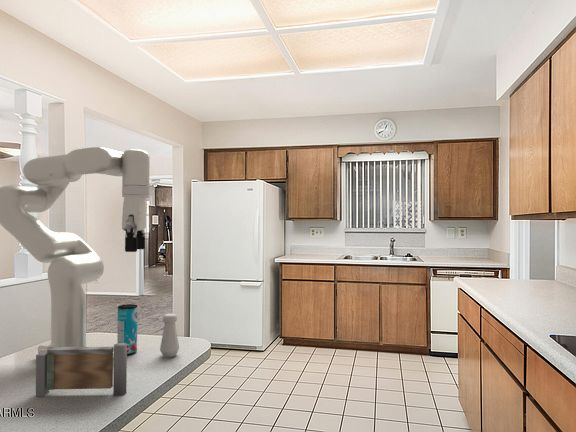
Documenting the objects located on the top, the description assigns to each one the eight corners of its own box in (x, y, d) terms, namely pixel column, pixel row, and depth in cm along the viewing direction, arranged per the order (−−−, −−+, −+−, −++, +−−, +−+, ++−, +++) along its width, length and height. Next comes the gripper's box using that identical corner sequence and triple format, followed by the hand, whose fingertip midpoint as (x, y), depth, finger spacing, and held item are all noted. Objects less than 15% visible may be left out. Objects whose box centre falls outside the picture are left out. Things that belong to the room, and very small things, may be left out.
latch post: (35, 396, 101) (36, 355, 101) (40, 392, 103) (41, 352, 103) (44, 396, 101) (44, 355, 101) (49, 392, 103) (49, 351, 103)
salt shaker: (181, 353, 134) (182, 312, 134) (175, 359, 128) (175, 316, 128) (164, 352, 135) (164, 312, 135) (156, 358, 129) (157, 316, 129)
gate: (113, 385, 104) (113, 346, 104) (110, 388, 102) (110, 349, 102) (50, 386, 103) (51, 347, 103) (46, 390, 101) (47, 349, 101)
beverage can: (133, 356, 131) (134, 308, 131) (114, 356, 131) (114, 308, 131) (139, 350, 137) (139, 304, 137) (120, 350, 136) (121, 304, 137)
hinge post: (111, 395, 102) (112, 346, 102) (115, 390, 105) (116, 342, 105) (124, 395, 102) (124, 346, 102) (128, 390, 105) (128, 342, 105)
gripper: (130, 193, 131) (129, 248, 131) (113, 190, 114) (113, 252, 114) (154, 194, 132) (154, 248, 132) (142, 190, 115) (141, 252, 115)
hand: (135, 250), depth 123 cm, fingers open, 9 cm apart
